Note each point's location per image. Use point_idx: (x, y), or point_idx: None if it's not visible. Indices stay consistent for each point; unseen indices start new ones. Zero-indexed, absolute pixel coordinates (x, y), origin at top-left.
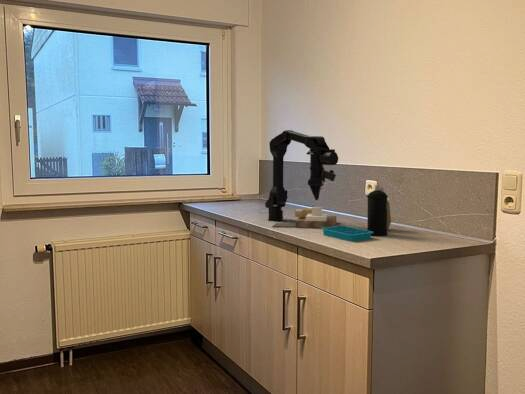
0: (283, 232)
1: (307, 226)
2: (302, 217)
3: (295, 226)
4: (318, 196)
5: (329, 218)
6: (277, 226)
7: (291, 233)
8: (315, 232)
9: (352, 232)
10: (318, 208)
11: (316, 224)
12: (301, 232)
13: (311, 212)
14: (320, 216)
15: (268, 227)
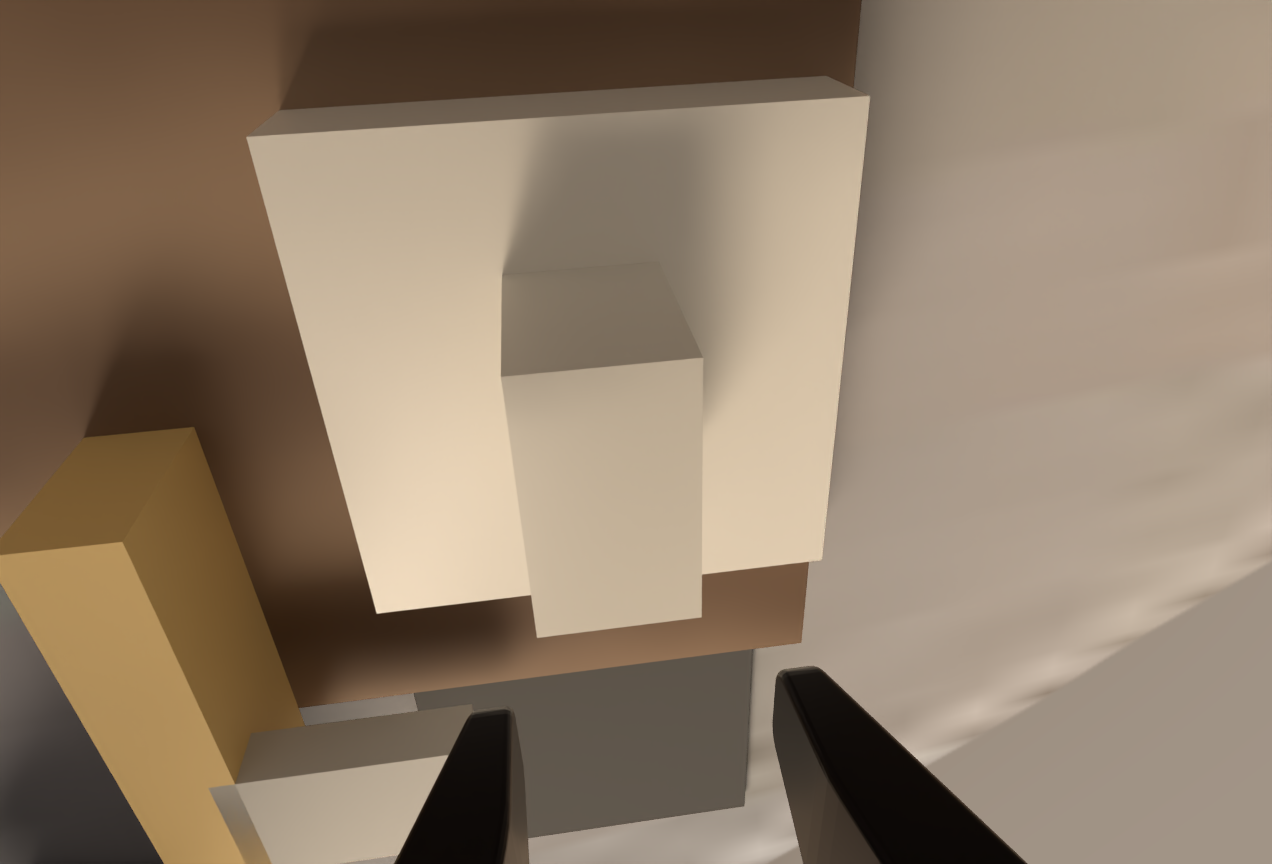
0: (1142, 602)
1: None
2: (340, 649)
3: None
4: (871, 779)
5: (301, 51)
6: (745, 763)
7: (1239, 503)
8: (1246, 191)
9: None
10: (697, 439)
11: None
12: (1192, 402)
13: (194, 589)
14: (818, 264)
15: (762, 820)
